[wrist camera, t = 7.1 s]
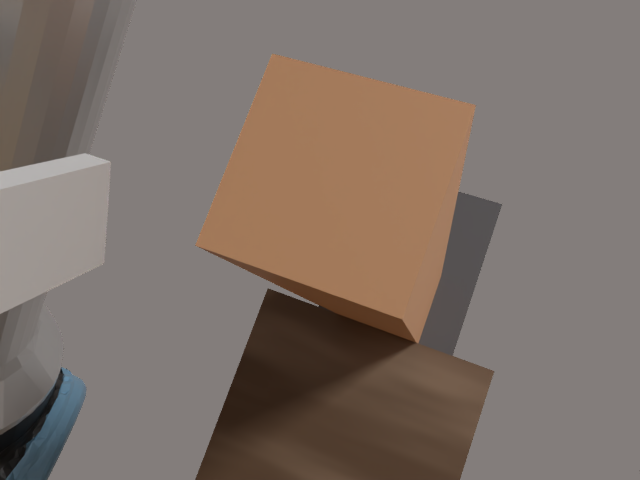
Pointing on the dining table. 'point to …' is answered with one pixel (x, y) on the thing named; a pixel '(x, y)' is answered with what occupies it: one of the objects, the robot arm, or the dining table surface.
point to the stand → (342, 403)
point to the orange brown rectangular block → (355, 200)
